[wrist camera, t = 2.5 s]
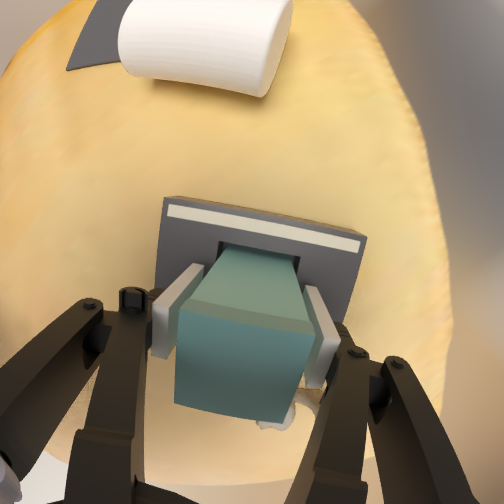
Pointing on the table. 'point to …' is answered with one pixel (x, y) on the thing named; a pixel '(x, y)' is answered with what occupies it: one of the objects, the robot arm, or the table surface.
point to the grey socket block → (259, 245)
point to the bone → (301, 396)
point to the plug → (243, 337)
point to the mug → (206, 41)
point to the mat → (99, 35)
